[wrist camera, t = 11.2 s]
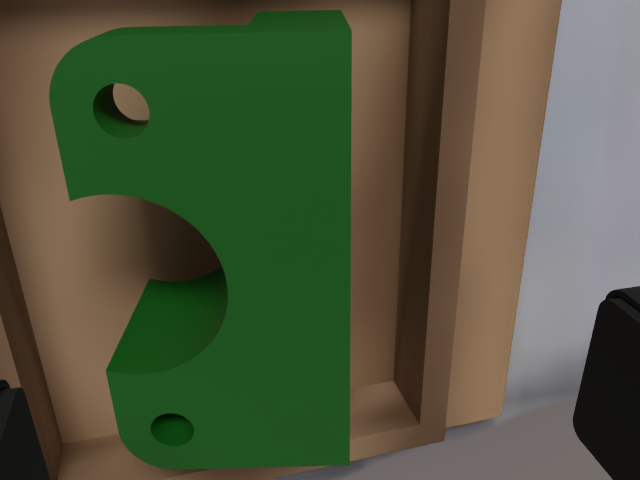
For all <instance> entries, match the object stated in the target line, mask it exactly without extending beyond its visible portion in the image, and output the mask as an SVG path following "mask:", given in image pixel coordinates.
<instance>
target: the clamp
mask: <svg viewBox="0 0 640 480" xmlns="http://www.w3.org/2000/svg"><path fill="white" fill-rule="evenodd" d="M115 83H120V84H125V85H128V86H131V87H133V88H134V89H136V90H137V91H138V92H139V93H140V94H141V95H142V96H143V97H144V99H145V100H146V102H147V104H148V108H149V115H150V116H149V120H133V119H130V118H128V117H127V116H125V115H124V114H123V113H122V112H121V111H120V110H119V109H118V107H117V106H116V104H115V101H114V97H113V88H114V84H115ZM49 103H50V110H51V115H52V119H53V124H54V129H55V134H56V138H57V143H58V148H59V152H60V157H61V162H62V167H63V171H64V176H65V181H66V186H67V190H68V195H69V200H70V201H73V200H76V199H79V198H83V197H88V196H94V195H124V196H131V197H136V198H141V199H144V200H147V201H151V202H153V203H156V204H158V205H161V206H163V207H165V208H167V209H169V210H171V211H173V212H175V213H176V214H178V215H179V216H181V217H182V218H184V219H185V220H186V221H188V222H189V223H190V224H192V225H193V226H194V227H195V228H196V229H197V230H198V231H199V232H200V233H201V234H202V235H203V236H204V237H205V239H206V240H207V241H208V242H209V244H210V245H211V246H212V248H213V249H214V251H215V253H216V254H217V256H218V258H219V260H220V262H221V265H222V266H221V267H219V268H218V269H216V270H215V271H213V272H211V273H209V274H207V275H205V276H202V277H199V278H196V279H192V280H187V281H176V282H171V281H160V280H155V279H149V281H148V283H147V285H146V287H145V289H144V291H143V293H142V295H141V297H140V299H139V302H138V304H137V306H136V308H135V310H134V312H133V314H132V316H131V318H130V320H129V323H128V325H127V327H126V329H125V331H124V333H123V335H122V337H121V339H120V341H119V343H118V346H117V348H116V350H115V352H114V354H113V356H112V358H111V360H110V362H109V364H108V367H107V369H106V375H107V380H108V384H109V389H110V394H111V399H112V403H113V408H114V413H115V418H116V422H117V427H118V432H119V435H120V438H121V440H122V442H123V444H124V445H125V446H126V448H127V449H128V450H129V451H130V452H131V453H132V454H133V455H134V456H136V457H137V458H138V459H140V460H142V461H144V462H145V463H148V464H150V465H152V466H156V467H159V468H164V469H171V470H188V469H225V468H263V467H300V466H338V465H350V318H351V112H352V30H351V28H350V26H349V24H348V22H347V20H346V18H345V16H344V15H343V13H342V11H341V10H305V11H258V12H257V14H256V15H255V16H254V18H253V19H252V20H251V22H250V23H249V24H248V25H199V26H151V27H122V28H116V29H113V30H110V31H107V32H105V33H102V34H100V35H97V36H95V37H93V38H90V39H88V40H86V41H84V42H81V43H79V44H78V45H76V46H74V47H73V48H72V49H71V50H69V51H68V52H67V53H66V54H65V55H64V56H63V57H62V59H61V60H60V61H59V63H58V65H57V66H56V68H55V71H54V73H53V75H52V79H51V83H50V89H49Z"/></svg>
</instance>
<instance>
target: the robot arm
mask: <svg viewBox="0 0 640 480" xmlns="http://www.w3.org/2000/svg"><path fill="white" fill-rule="evenodd" d="M573 426H574V429H575V432H576V434H577V436H578V438H579V439H580V441H581V442H582V443H583V444H584V445H585V447H586V448H587V449H588V450H589V451H590V453H591V454H592V455H593V456H594V457H595V459H596V460H597V461H598V462H599V463H600V465H601V466H602V467H603V468H604V469H605V470H606V472H607V473H608V474H609V475H610V477H611V478H612V479H613V480H640V286H638V287H631V288H625V289H618V290H613V291H611V292H610V293H609V294H608V295H607V296H606V299H605V300H604V301H602V302H601V303H600V305H599V308H598V312H597V316H596V320H595V325H594V329H593V333H592V338H591V342H590V346H589V351H588V355H587V359H586V364H585V368H584V372H583V376H582V381H581V385H580V389H579V394H578V398H577V403H576V407H575V411H574V415H573ZM0 480H50V477H49V473H48V470H47V467H46V463H45V460H44V456H43V453H42V449H41V446H40V443H39V439H38V436H37V432H36V429H35V426H34V422H33V419H32V415H31V412H30V409H29V405H28V402H27V398H26V395H25V392H24V390H23V389H22V388H21V387H17V388H10V385H9V383H8V382H7V381H6V380H4V379H1V380H0Z"/></svg>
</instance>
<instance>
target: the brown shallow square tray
mask: <svg viewBox="0 0 640 480" xmlns="http://www.w3.org/2000/svg"><path fill="white" fill-rule="evenodd" d="M561 3H562V0H0V380H1V379H4V380H6V381H7V382H8V383H9V385H10V388H17V387H21V388H22V389H23V390H24V392H25V395H26V398H27V402H28V405H29V409H30V412H31V415H32V419H33V422H34V426H35V429H36V432H37V436H38V439H39V443H40V446H41V449H42V453H43V456H44V460H45V463H46V467H47V470H48V473H49V477H50V480H268V479H273V478H277V477H282V476H286V475H291V474H295V473H300V472H304V471H309V470H314V469H318V468H323V467H327V466H300V467H263V468H225V469H188V470H171V469H164V468H159V467H156V466H152V465H150V464H148V463H145V462H144V461H142V460H140V459H138V458H137V457H136V456H134V455H133V454H132V453H131V452H130V451H129V450H128V449H127V448H126V446H125V445H124V444H123V442H122V440H121V438H120V435H119V432H118V427H117V422H116V418H115V413H114V408H113V403H112V399H111V394H110V389H109V384H108V380H107V375H106V369H107V367H108V364H109V362H110V360H111V358H112V356H113V354H114V352H115V350H116V348H117V346H118V343H119V341H120V339H121V337H122V335H123V333H124V331H125V329H126V327H127V325H128V323H129V320H130V318H131V316H132V314H133V312H134V310H135V308H136V306H137V304H138V302H139V299H140V297H141V295H142V293H143V291H144V289H145V287H146V285H147V283H148V281H149V279H155V280H160V281H171V282H176V281H187V280H192V279H196V278H199V277H202V276H205V275H207V274H209V273H211V272H213V271H215V270H216V269H218V268H219V267H221V266H222V265H221V262H220V260H219V258H218V256H217V254H216V253H215V251H214V249H213V248H212V246H211V245H210V244H209V242H208V241H207V240H206V239H205V237H204V236H203V235H202V234H201V233H200V232H199V231H198V230H197V229H196V228H195V227H194V226H193V225H192V224H190V223H189V222H188V221H186V220H185V219H184V218H182V217H181V216H179V215H178V214H176V213H175V212H173V211H171V210H169V209H167V208H165V207H163V206H161V205H158V204H156V203H153V202H151V201H147V200H144V199H141V198H136V197H131V196H124V195H94V196H88V197H83V198H79V199H76V200H73V201H70V200H69V195H68V190H67V186H66V181H65V176H64V171H63V167H62V162H61V157H60V152H59V148H58V143H57V138H56V134H55V129H54V124H53V119H52V115H51V110H50V103H49V89H50V83H51V79H52V75H53V73H54V71H55V68H56V66H57V65H58V63H59V61H60V60H61V59H62V57H63V56H64V55H65V54H66V53H67V52H68V51H69V50H71V49H72V48H73V47H74V46H76V45H78V44H79V43H81V42H84V41H86V40H88V39H90V38H93V37H95V36H97V35H100V34H102V33H105V32H107V31H110V30H113V29H116V28H122V27H151V26H199V25H248V24H249V23H250V22H251V20H252V19H253V18H254V16H255V15H256V14H257V12H258V11H305V10H341V11H342V13H343V15H344V16H345V18H346V20H347V22H348V24H349V26H350V28H351V30H352V112H351V318H350V461H354V460H359V459H363V458H368V457H373V456H377V455H382V454H386V453H391V452H395V451H400V450H404V449H409V448H413V447H418V446H423V445H427V444H432V443H436V442H441V441H444V436H445V428H449V427H453V426H458V425H463V424H467V423H472V422H477V421H481V420H486V419H490V418H495V417H500V416H501V414H502V407H503V400H504V394H505V387H506V380H507V373H508V366H509V359H510V352H511V346H512V339H513V332H514V325H515V318H516V311H517V304H518V298H519V291H520V284H521V277H522V270H523V263H524V256H525V250H526V243H527V236H528V229H529V222H530V215H531V208H532V202H533V195H534V188H535V181H536V174H537V167H538V160H539V153H540V147H541V140H542V133H543V126H544V119H545V112H546V105H547V99H548V92H549V85H550V78H551V71H552V64H553V57H554V51H555V44H556V37H557V30H558V23H559V16H560V9H561ZM113 97H114V101H115V104H116V106H117V107H118V109H119V110H120V111H121V112H122V113H123V114H124V115H125V116H127V117H128V118H130V119H133V120H149V116H150V115H149V108H148V104H147V102H146V100H145V99H144V97H143V96H142V95H141V94H140V93H139V92H138V91H137V90H136V89H134V88H133V87H131V86H128V85H125V84H120V83H115V84H114V88H113Z"/></svg>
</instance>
